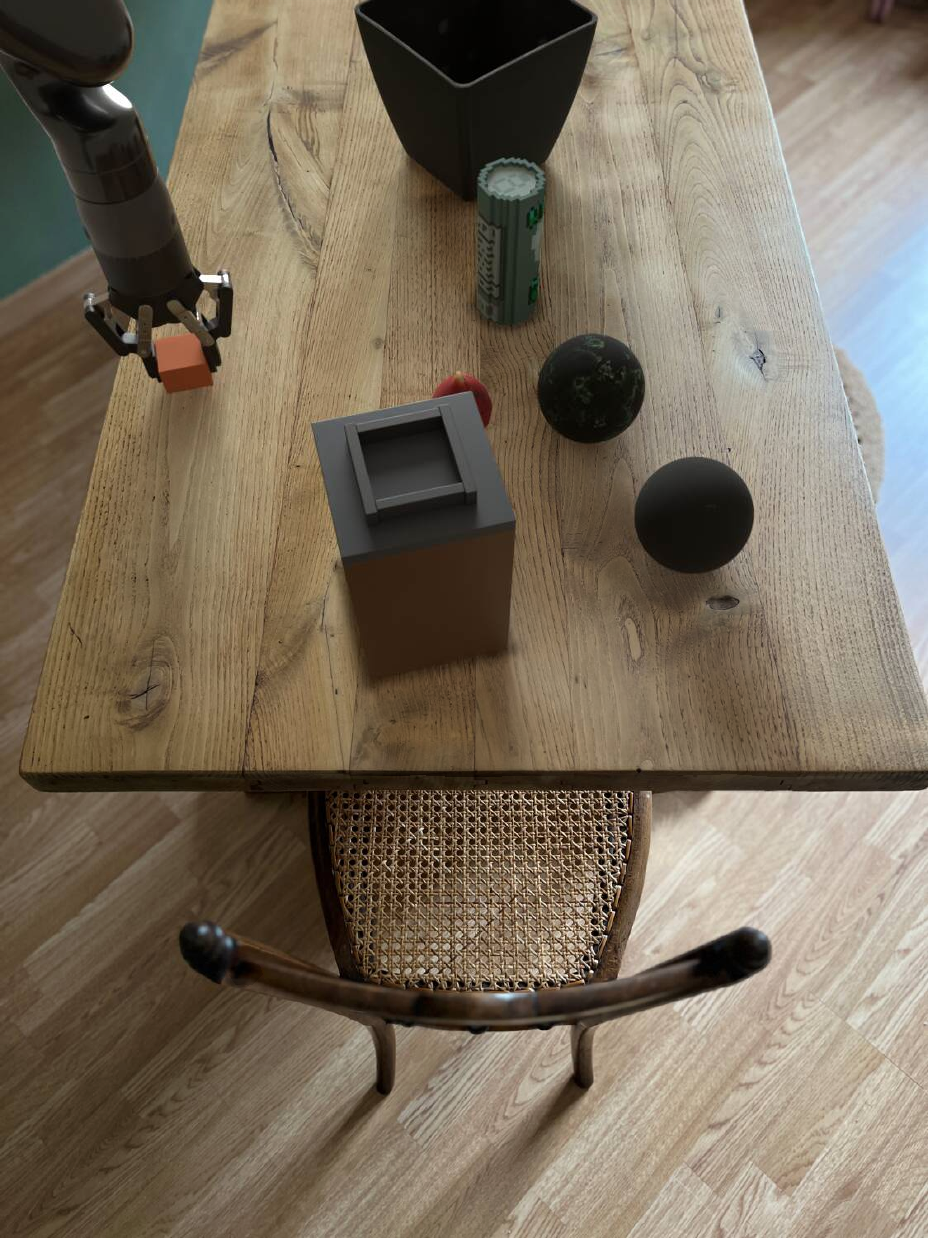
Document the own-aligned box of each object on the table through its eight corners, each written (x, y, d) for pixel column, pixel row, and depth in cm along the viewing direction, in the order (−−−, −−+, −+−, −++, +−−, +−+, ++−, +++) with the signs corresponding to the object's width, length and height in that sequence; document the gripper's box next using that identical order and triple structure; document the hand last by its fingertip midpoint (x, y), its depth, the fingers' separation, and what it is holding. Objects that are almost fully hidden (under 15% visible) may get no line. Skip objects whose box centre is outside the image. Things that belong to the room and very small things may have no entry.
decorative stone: (574, 371, 94) (584, 293, 85) (656, 419, 91) (675, 343, 82) (513, 430, 90) (517, 355, 81) (596, 482, 87) (610, 410, 78)
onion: (502, 426, 90) (504, 367, 83) (471, 466, 88) (471, 408, 81) (452, 402, 92) (451, 343, 85) (420, 441, 90) (416, 382, 83)
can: (546, 311, 98) (557, 185, 85) (497, 333, 96) (501, 208, 83) (515, 278, 101) (521, 150, 87) (467, 298, 99) (466, 171, 86)
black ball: (753, 583, 81) (787, 518, 73) (645, 604, 80) (666, 540, 72) (715, 494, 86) (742, 422, 77) (612, 513, 85) (628, 443, 76)
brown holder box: (370, 681, 77) (338, 546, 59) (343, 564, 83) (307, 409, 65) (507, 649, 78) (517, 508, 61) (472, 536, 84) (472, 376, 66)
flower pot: (463, 232, 104) (460, 85, 90) (365, 152, 112) (348, 3, 97) (586, 165, 110) (603, 16, 95) (486, 92, 117) (487, -56, 102)
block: (167, 394, 91) (158, 372, 89) (163, 361, 94) (154, 339, 91) (213, 385, 92) (205, 363, 89) (208, 353, 94) (200, 330, 92)
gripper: (211, 183, 80) (252, 332, 95) (45, 211, 79) (113, 358, 94) (222, 239, 77) (262, 385, 92) (47, 269, 75) (117, 412, 90)
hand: (186, 370), depth 92 cm, fingers closed on block, 4 cm apart
